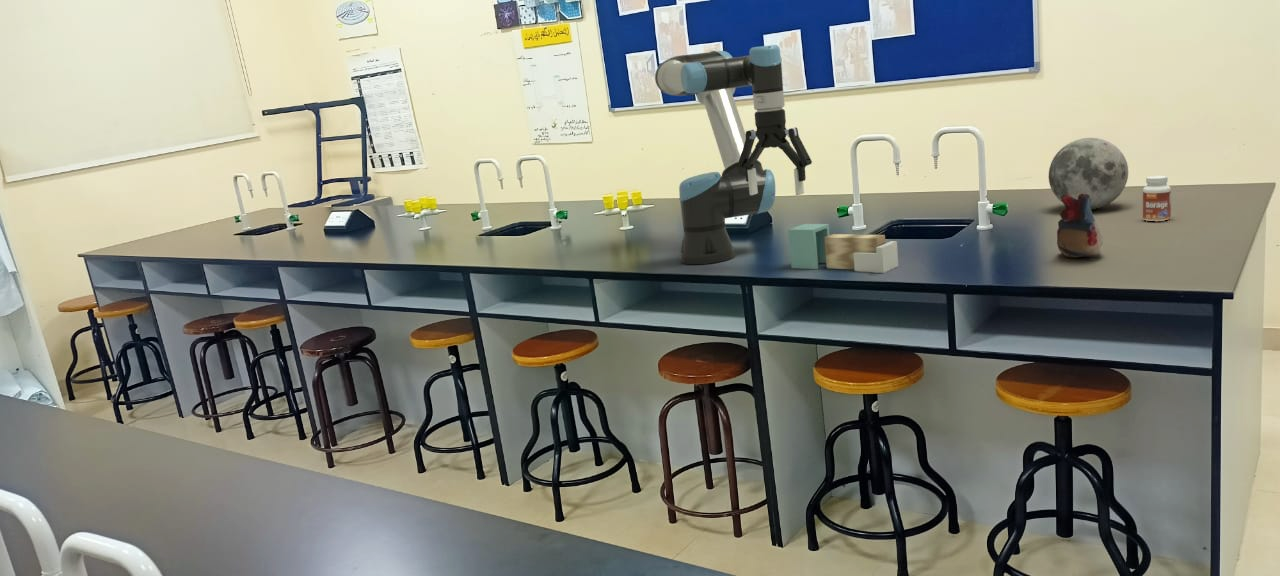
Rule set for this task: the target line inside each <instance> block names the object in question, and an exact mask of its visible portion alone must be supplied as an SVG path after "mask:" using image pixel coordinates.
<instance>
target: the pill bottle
mask: <svg viewBox="0 0 1280 576" xmlns="http://www.w3.org/2000/svg"><path fill="white" fill-rule="evenodd" d="M1145 183H1146V184H1147V185H1146V186H1144V187H1143V188H1142V189H1143V190H1142V220H1143V219H1148V220H1163V219H1169V218H1170V219H1171V217H1172V216H1171V214H1172V213H1171V209H1172V200H1171V198H1172V188H1171V186H1170V185H1169V184H1168V176H1167V175H1150V176H1147V177H1146V179H1145Z"/></svg>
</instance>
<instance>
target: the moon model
mask: <svg viewBox="0 0 1280 576" xmlns="http://www.w3.org/2000/svg"><path fill="white" fill-rule="evenodd" d="M1128 179H1129V165H1128V162H1127V158H1126V157H1125V155H1124V154H1123V152H1122V151H1121V149H1120V148H1118V147H1117V146H1116V145H1115V144H1113V143H1111V142H1110V141H1108V140H1105V139H1103V138H1102V139H1101V138H1097V137H1084V138H1079V139H1076V140H1073V141H1071V142H1069V143H1068V144H1066V145H1064V146H1063V147H1062V148H1060V150H1058V152H1057V153H1056V154H1055V155H1054V157H1053V158H1052V160H1051V162H1050V165H1049V169H1048V183H1049V187H1050V189H1051V191H1052V193H1053V194H1054V196H1055V197H1056V199H1058V200H1059V201H1060V202H1061V203H1063V202H1062V200H1061V196H1062V195H1063V194H1068V195H1070V196H1071V197H1073V198H1075V199H1077V200H1078V196H1079V195H1080V194H1088V195H1090V197H1091V202H1090V208H1091V209H1093V210H1097V209H1096V208H1098V209H1100V208H1104V207H1105V206H1108V205H1110V204H1111V203H1112V202H1114V201H1115V200H1116V199H1118V197H1119V196H1120V195H1121V194H1122V193H1123V191H1124V190H1125V187H1126V185H1127V183H1128Z"/></svg>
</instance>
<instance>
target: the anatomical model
mask: <svg viewBox="0 0 1280 576" xmlns="http://www.w3.org/2000/svg"><path fill="white" fill-rule="evenodd" d="M1061 200H1062V202H1061V203H1062V204H1063V205H1064V207H1065V208H1064V209H1062V210H1061V211H1060V220H1059V221H1058V222H1057V224H1058V229H1057V231H1056V233H1057V234H1056V240H1057V241H1056V244H1057V249H1058V250H1059V252H1060V253H1061V254H1062V255H1063V256H1065V257H1068V258H1081V257H1083V258H1084V257H1089V258H1094V257H1097V256H1099V255H1101V251H1102V246H1103V244H1104V243H1103V242H1104V241H1103V235H1102V233H1101V229H1100V225H1099V224H1098V221H1097V220H1096V219H1095V216H1094V214H1093V211H1092V210H1091V208H1090V202H1091V197H1090V195H1088V194H1080V195H1079V196H1078V200H1077V199H1075V198H1073V197H1071V196H1070V195H1068V194H1063V195H1062V196H1061Z"/></svg>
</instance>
